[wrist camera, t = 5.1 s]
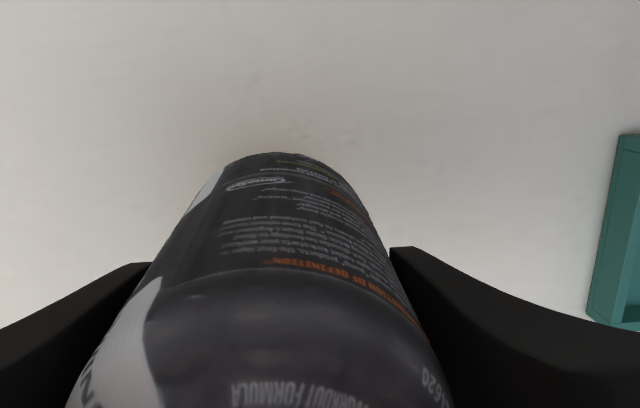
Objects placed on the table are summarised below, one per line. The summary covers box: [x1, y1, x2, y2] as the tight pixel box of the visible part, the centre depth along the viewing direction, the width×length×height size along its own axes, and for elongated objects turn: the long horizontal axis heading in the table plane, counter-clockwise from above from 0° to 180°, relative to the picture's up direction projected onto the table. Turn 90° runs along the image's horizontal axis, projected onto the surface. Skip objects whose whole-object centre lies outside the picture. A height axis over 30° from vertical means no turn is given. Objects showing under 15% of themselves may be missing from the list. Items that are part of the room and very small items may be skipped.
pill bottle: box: [65, 152, 456, 408], centre depth 9 cm, size 6×6×11 cm
